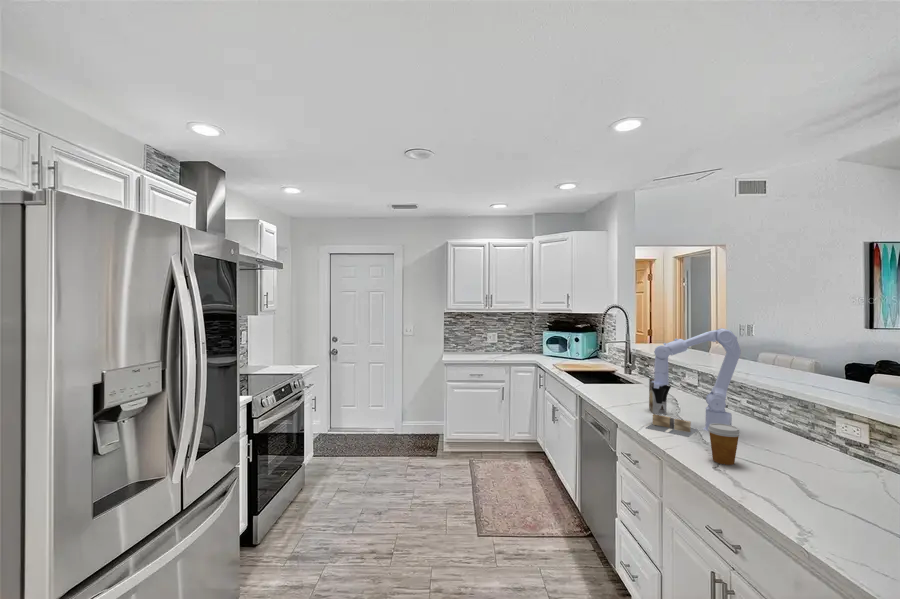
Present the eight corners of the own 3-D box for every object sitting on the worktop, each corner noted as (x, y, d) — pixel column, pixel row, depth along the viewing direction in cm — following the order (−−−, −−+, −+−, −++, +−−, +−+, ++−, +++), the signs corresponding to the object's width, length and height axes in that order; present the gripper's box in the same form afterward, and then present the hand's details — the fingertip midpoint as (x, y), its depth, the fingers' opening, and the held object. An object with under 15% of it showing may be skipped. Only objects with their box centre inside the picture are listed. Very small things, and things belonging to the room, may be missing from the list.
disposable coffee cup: (737, 459, 150) (737, 425, 150) (742, 468, 141) (743, 432, 141) (705, 455, 154) (706, 421, 154) (709, 463, 145) (709, 428, 145)
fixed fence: (690, 431, 180) (690, 421, 180) (689, 432, 179) (689, 422, 179) (675, 428, 184) (675, 418, 184) (674, 429, 183) (674, 419, 183)
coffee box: (648, 409, 220) (648, 378, 220) (661, 410, 218) (662, 379, 218) (653, 414, 211) (653, 381, 211) (667, 415, 209) (667, 382, 209)
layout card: (697, 430, 184) (697, 429, 184) (688, 438, 173) (688, 436, 173) (655, 422, 195) (655, 421, 195) (644, 429, 184) (644, 428, 184)
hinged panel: (674, 427, 184) (674, 417, 184) (673, 428, 183) (673, 418, 183) (653, 423, 190) (653, 414, 190) (652, 424, 189) (652, 414, 189)
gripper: (657, 369, 201) (656, 398, 201) (646, 372, 190) (646, 403, 190) (673, 371, 196) (673, 401, 196) (663, 374, 185) (663, 406, 185)
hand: (661, 402), depth 193 cm, fingers open, 5 cm apart
